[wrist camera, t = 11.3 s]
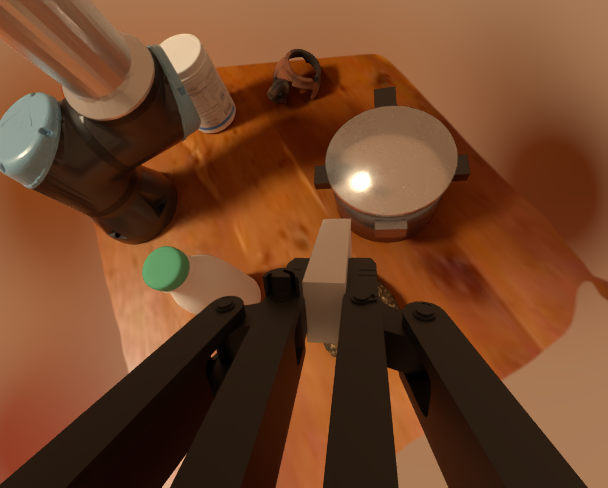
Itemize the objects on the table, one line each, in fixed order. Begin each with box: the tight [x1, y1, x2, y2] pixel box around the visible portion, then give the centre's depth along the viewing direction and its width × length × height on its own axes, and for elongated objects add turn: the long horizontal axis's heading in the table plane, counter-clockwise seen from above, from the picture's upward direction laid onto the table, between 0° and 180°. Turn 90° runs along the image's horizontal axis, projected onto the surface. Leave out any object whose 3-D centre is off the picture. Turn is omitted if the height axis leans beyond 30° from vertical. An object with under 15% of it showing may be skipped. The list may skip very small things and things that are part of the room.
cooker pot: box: [314, 155, 470, 243], centre depth 45 cm, size 17×21×9 cm
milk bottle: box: [142, 246, 261, 314], centre depth 39 cm, size 8×8×20 cm
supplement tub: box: [159, 34, 236, 133], centre depth 56 cm, size 10×10×15 cm
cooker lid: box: [325, 87, 458, 218], centre depth 41 cm, size 20×17×1 cm
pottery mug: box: [267, 49, 321, 104], centre depth 58 cm, size 12×10×8 cm
